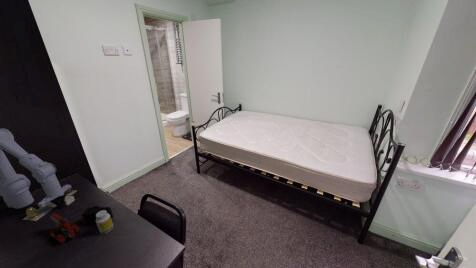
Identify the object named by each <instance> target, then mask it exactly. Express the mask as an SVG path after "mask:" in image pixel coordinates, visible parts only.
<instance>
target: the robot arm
mask: <svg viewBox="0 0 476 268" xmlns="http://www.w3.org/2000/svg"><path fill="white" fill-rule="evenodd" d="M3 150H4V151H5V152H7V153H8V154H10V155H12V156H13V157H15V158H17V159H18V163H19V165H20V166H23V167H24V168H25V169H28V170H27V171H30V172H31V176H32V177H33V178H34V179H36V182H38V183H40V186H41V187H42V189H43V191H44V193H45V195H46V196H45V197H44V198H43V199H42V200H41V201H39V202H38V203H37V205H38V207H39V208H40V207H46V206H45V205H46V204H47V203H49V202H51V203H53V204H55V205H56V207H58V209H63V208H65V206H66V205H65V197H66V194H64V192H65V191H66V190H67V189H70V188H71V189H72V185H71V184H67V185H65V184H64V185H65V186H64V187H63V186H61V184H60V181H59V180H58V178H57V176H56V172H57V167H56V166H55V165H54V164H53V163H50V162H47V161H43V160H42V159H41V158H40V157H38V156H37V155H35V154H34V153H29V152H27V151H26V150H25V149H24V148H23V147H21V146H20V145H19V144H18V143H17V142H16V141H15V138H14V134H13V133H12V132H11V131H10V130H9V129H6V128H5V127H3V128H2V127H1V128H0V196H1V197H2V198H3V201H4V203H5V204H6V206H7V207H8V208H14V209H18V210H19V209H21V208H25V207H27V206H29V205H31V204H33V202H34V201H35V199H34V198H33V195H32V194H31V192H30V190H29V189H30V186H31V180H30V179H29V178H27V176H25V174H21V173H16V171H15V169H14V167H13V166H12V165H11V162H10V161H9V158H8V157H7V156H6V154H5V152H4V151H3Z"/></svg>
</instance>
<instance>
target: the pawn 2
mask: <svg viewBox="0 0 476 268" xmlns="http://www.w3.org/2000/svg"><path fill="white" fill-rule="evenodd" d="M65 185H68V184H63V185H62V187H64V186H65ZM72 190H73V189H72V187H71V188H70V189H67V190H66V191H65V192H64V194H66V195H67V194H70V193H71V192H72Z"/></svg>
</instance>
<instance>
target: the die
mask: <svg viewBox="0 0 476 268" xmlns="http://www.w3.org/2000/svg"><path fill="white" fill-rule="evenodd" d="M75 200H76V199H75V196H74V195H69V196H66V197H65V206H69V205H71V204H72V203H73V202H74V201H75Z"/></svg>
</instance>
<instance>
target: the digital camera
mask: <svg viewBox="0 0 476 268" xmlns="http://www.w3.org/2000/svg"><path fill="white" fill-rule="evenodd" d="M102 210H106V211H107V213H108V214H110V217H111V219H112V220H113V218H114V214H113V212H112V209H111V207H110V206H104V207H103V206H101V207H100V206H98V205H93V206H91V207H88V208H87V209H85V210H84V212H82V214H81V216H82V218H83V221H84V224H85V225H86V226H97V224H96V214H97V213H98V212H100V211H102Z"/></svg>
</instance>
